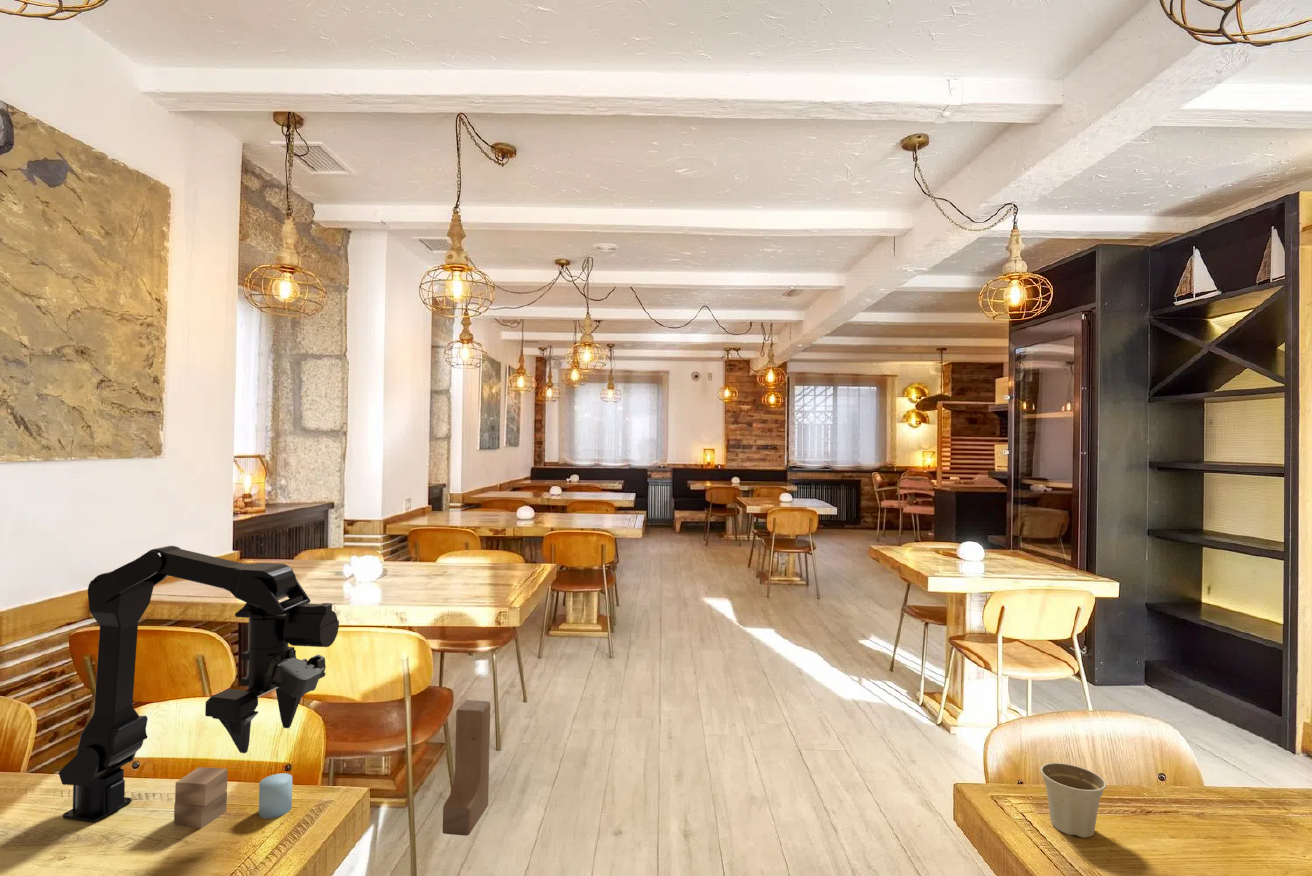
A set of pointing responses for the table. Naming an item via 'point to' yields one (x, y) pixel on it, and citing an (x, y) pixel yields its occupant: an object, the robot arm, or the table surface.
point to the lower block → (200, 812)
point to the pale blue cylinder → (275, 795)
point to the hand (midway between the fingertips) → (266, 739)
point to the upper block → (201, 786)
